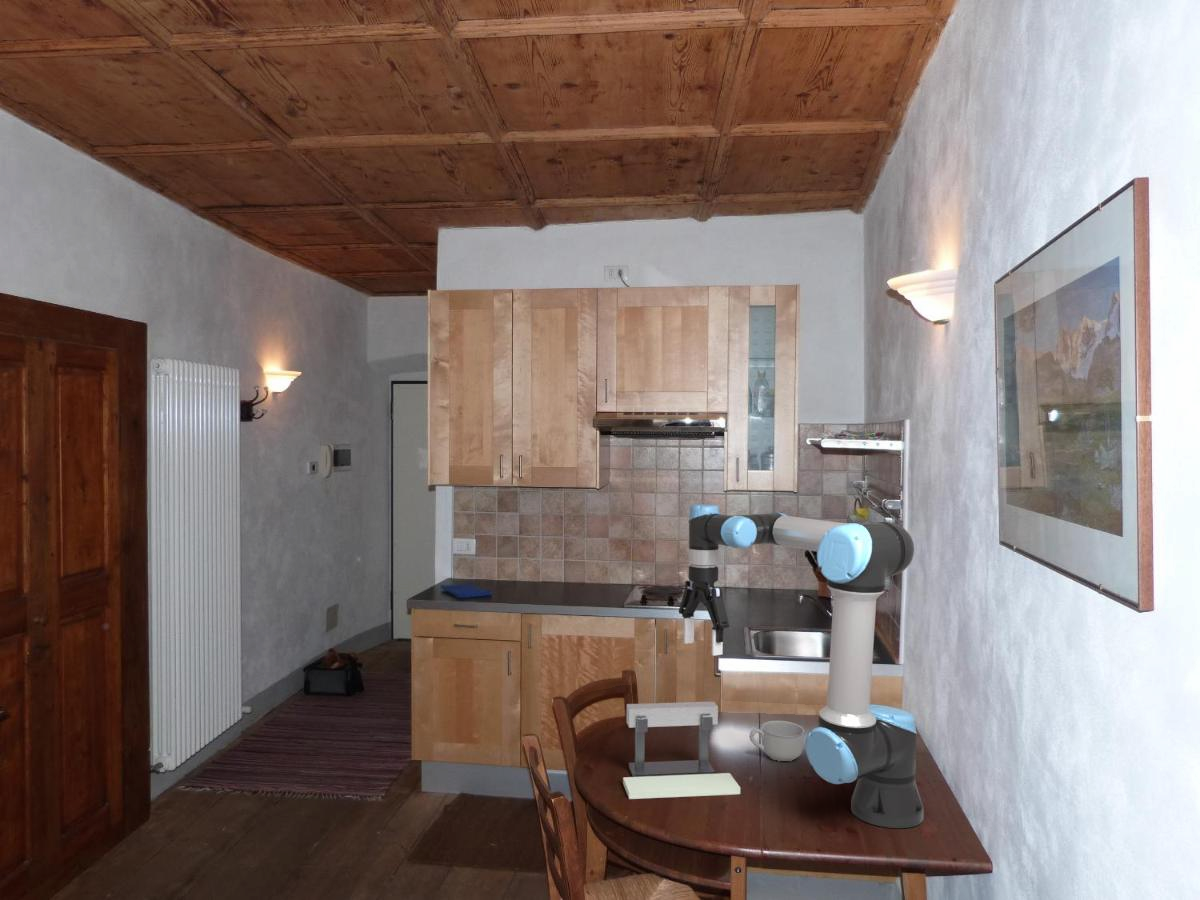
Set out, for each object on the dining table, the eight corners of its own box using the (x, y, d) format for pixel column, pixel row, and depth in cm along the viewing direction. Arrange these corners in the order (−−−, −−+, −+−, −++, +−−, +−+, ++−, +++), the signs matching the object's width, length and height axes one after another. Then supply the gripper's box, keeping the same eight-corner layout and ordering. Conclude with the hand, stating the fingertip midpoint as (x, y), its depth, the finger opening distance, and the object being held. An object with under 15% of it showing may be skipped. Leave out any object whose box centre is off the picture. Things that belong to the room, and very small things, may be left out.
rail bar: (717, 724, 217) (717, 706, 217) (629, 727, 214) (629, 709, 214) (713, 719, 221) (713, 701, 221) (626, 722, 218) (626, 704, 218)
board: (740, 794, 205) (740, 787, 205) (629, 799, 201) (629, 792, 201) (729, 779, 214) (729, 773, 213) (623, 783, 210) (623, 777, 210)
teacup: (801, 751, 233) (801, 721, 233) (806, 766, 222) (807, 734, 222) (747, 749, 235) (747, 719, 234) (750, 764, 224) (750, 732, 224)
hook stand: (715, 776, 215) (716, 717, 215) (634, 779, 213) (634, 719, 212) (707, 764, 223) (707, 707, 223) (628, 767, 221) (629, 709, 220)
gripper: (743, 571, 215) (742, 658, 215) (690, 558, 238) (690, 637, 238) (717, 573, 212) (716, 661, 212) (666, 559, 235) (665, 639, 235)
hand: (702, 648), depth 225 cm, fingers open, 13 cm apart
